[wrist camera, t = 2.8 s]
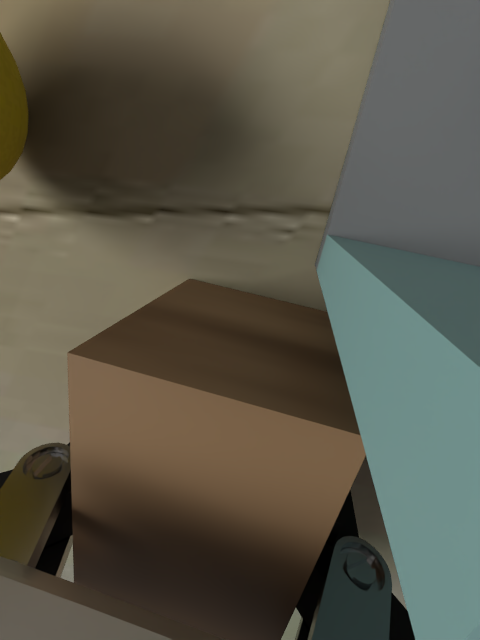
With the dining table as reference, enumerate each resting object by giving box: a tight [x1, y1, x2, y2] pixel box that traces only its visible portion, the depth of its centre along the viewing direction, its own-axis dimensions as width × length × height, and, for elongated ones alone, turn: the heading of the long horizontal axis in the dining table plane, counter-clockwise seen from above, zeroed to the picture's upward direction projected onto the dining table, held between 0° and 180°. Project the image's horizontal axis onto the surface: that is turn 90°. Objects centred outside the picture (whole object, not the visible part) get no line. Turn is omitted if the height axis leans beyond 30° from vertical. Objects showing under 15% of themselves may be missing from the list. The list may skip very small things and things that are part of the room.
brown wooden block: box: [67, 279, 366, 640], centre depth 9 cm, size 10×5×6 cm, turn 168°
